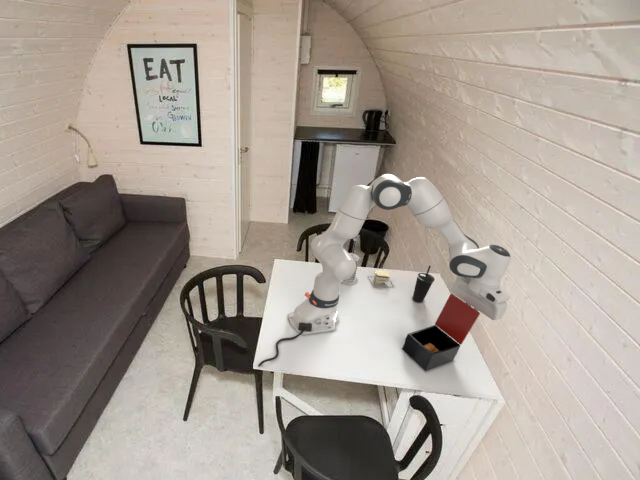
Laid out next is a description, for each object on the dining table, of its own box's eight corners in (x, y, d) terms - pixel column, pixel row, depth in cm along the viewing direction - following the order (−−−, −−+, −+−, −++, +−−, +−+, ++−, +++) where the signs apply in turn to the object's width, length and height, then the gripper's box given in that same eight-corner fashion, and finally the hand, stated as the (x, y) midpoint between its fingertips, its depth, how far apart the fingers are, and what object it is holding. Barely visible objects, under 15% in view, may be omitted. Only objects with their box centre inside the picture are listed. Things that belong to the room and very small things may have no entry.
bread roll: (421, 361, 141) (424, 353, 139) (413, 353, 145) (416, 345, 142) (436, 355, 144) (440, 348, 141) (427, 348, 147) (431, 340, 145)
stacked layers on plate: (374, 286, 184) (376, 278, 181) (368, 277, 192) (370, 268, 189) (393, 286, 184) (395, 278, 181) (386, 277, 192) (389, 268, 189)
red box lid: (479, 313, 130) (480, 313, 130) (450, 293, 139) (451, 293, 140) (460, 344, 137) (461, 344, 138) (434, 324, 147) (435, 323, 147)
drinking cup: (419, 306, 171) (432, 272, 160) (406, 298, 177) (417, 264, 166) (429, 301, 175) (442, 267, 164) (415, 293, 180) (427, 260, 169)
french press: (358, 284, 186) (368, 243, 172) (336, 284, 186) (344, 243, 172) (353, 273, 194) (362, 233, 181) (332, 274, 194) (339, 233, 180)
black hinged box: (425, 371, 138) (432, 355, 133) (402, 349, 148) (407, 333, 143) (453, 360, 143) (460, 345, 138) (428, 339, 152) (434, 324, 148)
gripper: (453, 272, 140) (442, 300, 148) (502, 303, 124) (486, 332, 132) (465, 269, 142) (453, 296, 150) (514, 299, 126) (498, 328, 134)
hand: (469, 313), depth 141 cm, fingers closed
